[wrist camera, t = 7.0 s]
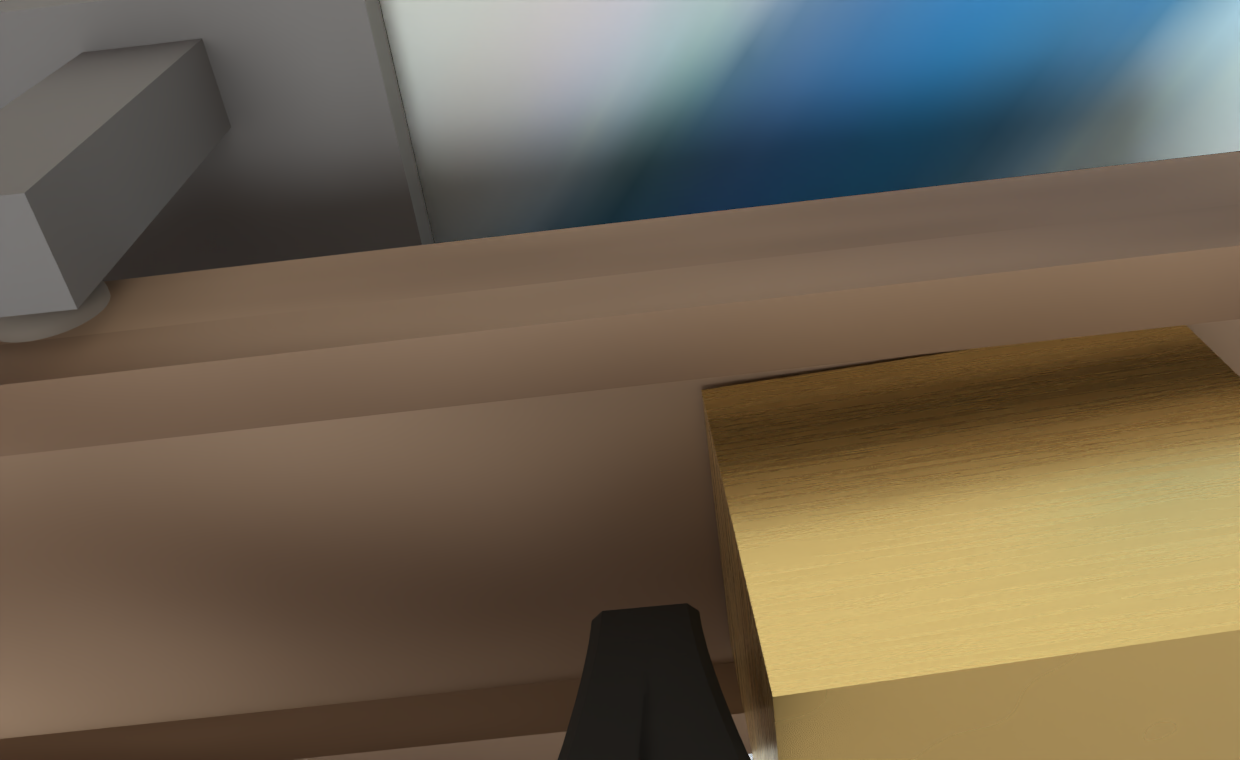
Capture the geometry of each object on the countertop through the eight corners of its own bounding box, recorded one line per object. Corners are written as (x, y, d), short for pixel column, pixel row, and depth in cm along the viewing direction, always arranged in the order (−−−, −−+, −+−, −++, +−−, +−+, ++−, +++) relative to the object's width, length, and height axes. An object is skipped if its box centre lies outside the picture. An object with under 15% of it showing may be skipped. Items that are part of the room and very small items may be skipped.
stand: (506, 562, 20) (478, 844, 15) (201, 591, 20) (74, 876, 15) (369, -44, 14) (244, 99, 9) (-69, 8, 14) (-426, 175, 9)
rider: (1126, 590, 13) (1331, 901, 10) (730, 648, 13) (796, 974, 10) (1178, 317, 11) (1469, 597, 7) (700, 389, 11) (773, 695, 7)
